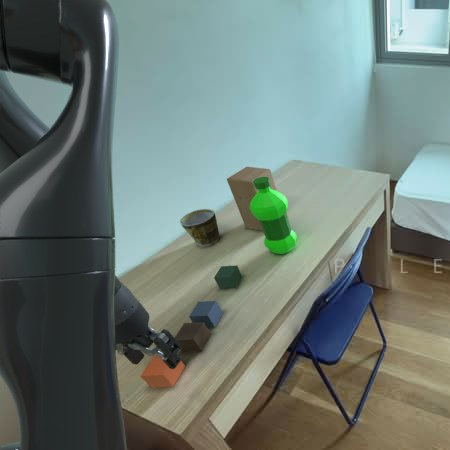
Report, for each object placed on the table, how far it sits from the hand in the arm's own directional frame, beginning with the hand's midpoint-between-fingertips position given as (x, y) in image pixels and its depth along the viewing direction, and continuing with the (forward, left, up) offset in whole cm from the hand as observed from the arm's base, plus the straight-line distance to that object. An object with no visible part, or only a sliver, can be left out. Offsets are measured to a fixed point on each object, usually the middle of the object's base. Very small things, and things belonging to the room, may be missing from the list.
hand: (157, 362), depth 63 cm
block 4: (+27, -2, -5) cm, 28 cm away
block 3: (+8, -2, -5) cm, 10 cm away
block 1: (0, 0, -5) cm, 5 cm away
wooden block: (+58, -2, -5) cm, 58 cm away
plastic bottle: (+42, -13, -5) cm, 44 cm away
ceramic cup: (+47, +14, -5) cm, 49 cm away
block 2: (+14, -2, -5) cm, 15 cm away
